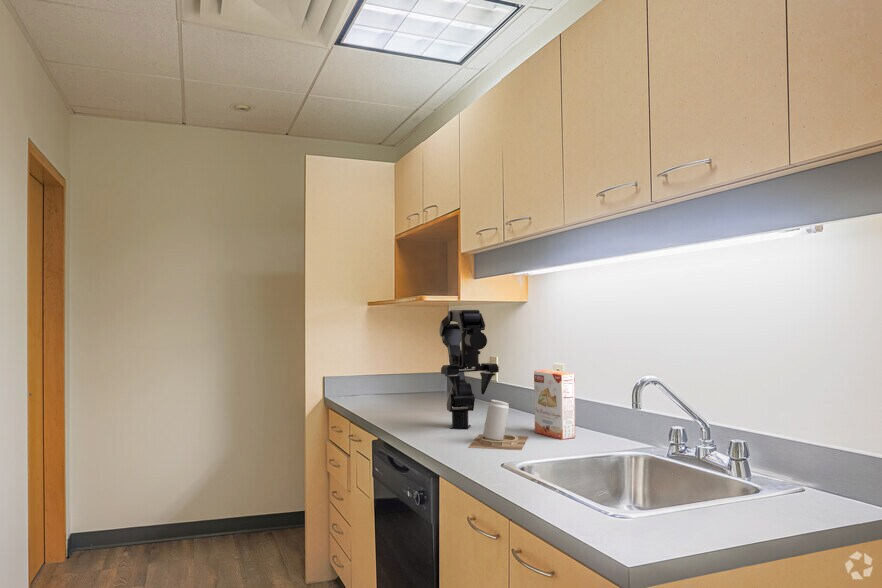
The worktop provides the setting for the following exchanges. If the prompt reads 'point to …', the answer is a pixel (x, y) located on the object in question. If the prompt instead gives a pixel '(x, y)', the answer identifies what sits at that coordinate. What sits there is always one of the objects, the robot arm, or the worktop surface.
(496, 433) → the beverage can
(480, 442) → the can holder
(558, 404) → the cracker box
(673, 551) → the worktop surface
